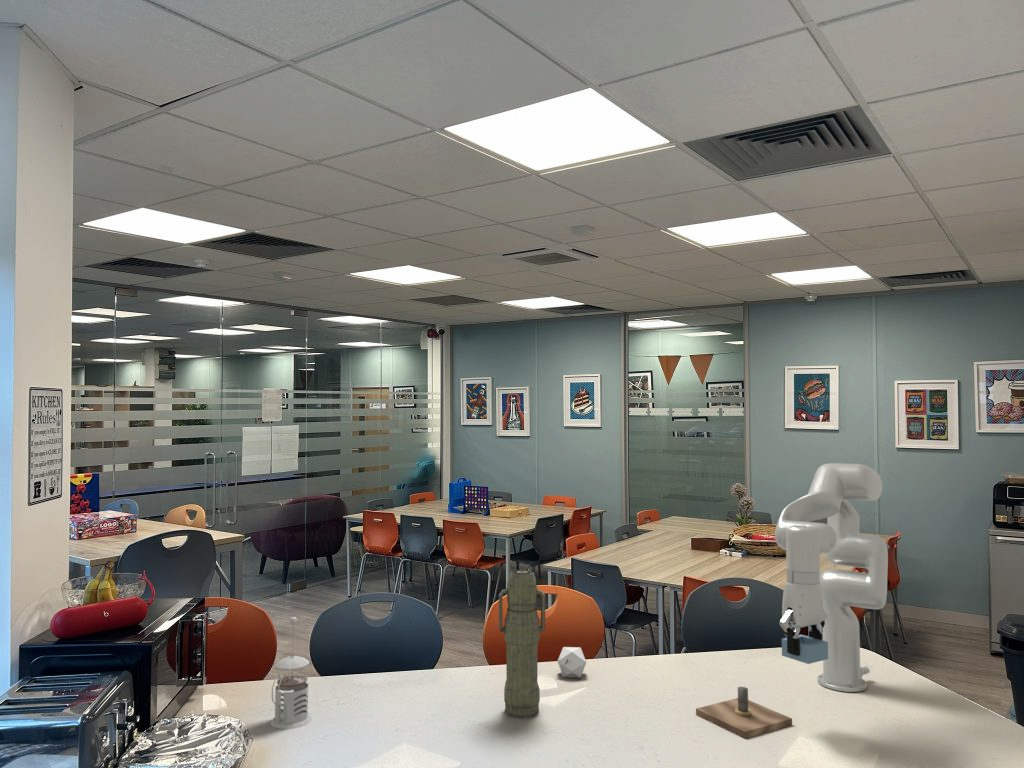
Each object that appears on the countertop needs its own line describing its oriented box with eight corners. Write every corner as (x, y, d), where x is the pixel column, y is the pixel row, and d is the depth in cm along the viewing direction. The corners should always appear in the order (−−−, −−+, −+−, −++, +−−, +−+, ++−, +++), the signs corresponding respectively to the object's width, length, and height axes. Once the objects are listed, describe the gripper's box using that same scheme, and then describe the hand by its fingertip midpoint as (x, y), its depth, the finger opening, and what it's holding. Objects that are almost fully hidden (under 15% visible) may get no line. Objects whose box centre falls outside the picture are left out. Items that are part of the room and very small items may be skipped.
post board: (741, 702, 190) (741, 673, 190) (792, 724, 176) (791, 693, 176) (695, 714, 182) (695, 684, 182) (745, 738, 168) (744, 705, 168)
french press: (320, 715, 181) (321, 613, 182) (291, 734, 170) (293, 625, 171) (286, 710, 184) (288, 610, 186) (256, 728, 173) (259, 621, 175)
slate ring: (801, 650, 180) (801, 634, 181) (828, 659, 174) (827, 642, 174) (781, 655, 177) (781, 638, 177) (808, 664, 170) (807, 646, 171)
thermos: (548, 716, 180) (548, 574, 182) (501, 719, 179) (502, 575, 181) (541, 703, 189) (541, 567, 191) (496, 706, 187) (497, 568, 189)
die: (552, 674, 213) (551, 654, 208) (569, 654, 218) (569, 634, 213) (574, 690, 208) (574, 670, 203) (591, 669, 214) (592, 649, 208)
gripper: (812, 571, 184) (814, 642, 183) (766, 578, 175) (767, 653, 174) (839, 576, 178) (841, 650, 177) (792, 584, 169) (793, 661, 168)
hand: (804, 651), depth 175 cm, fingers closed on slate ring, 7 cm apart
